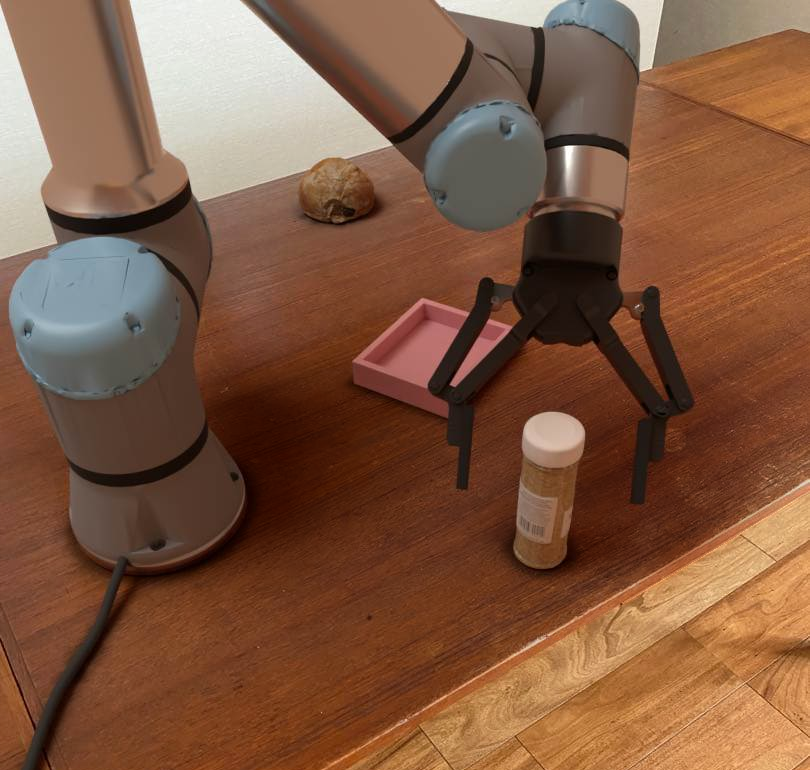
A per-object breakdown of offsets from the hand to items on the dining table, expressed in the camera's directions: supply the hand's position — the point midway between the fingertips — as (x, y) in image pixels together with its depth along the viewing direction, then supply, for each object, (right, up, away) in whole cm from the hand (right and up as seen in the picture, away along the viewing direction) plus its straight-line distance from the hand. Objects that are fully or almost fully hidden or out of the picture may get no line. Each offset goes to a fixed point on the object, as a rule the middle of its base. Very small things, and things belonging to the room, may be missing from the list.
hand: (548, 497), depth 68 cm
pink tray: (-8, +15, +23) cm, 29 cm away
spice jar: (0, -4, +6) cm, 7 cm away
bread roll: (-21, +41, +48) cm, 67 cm away
